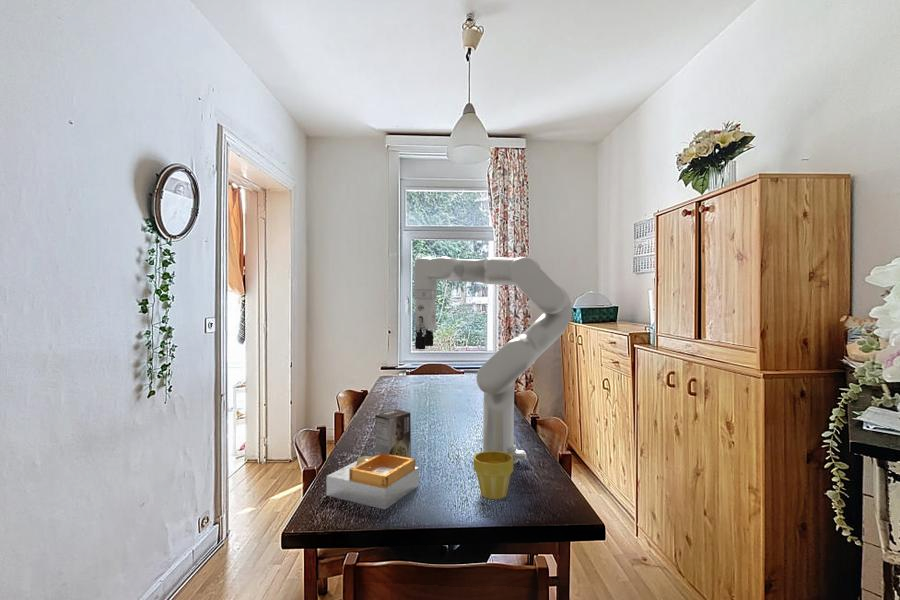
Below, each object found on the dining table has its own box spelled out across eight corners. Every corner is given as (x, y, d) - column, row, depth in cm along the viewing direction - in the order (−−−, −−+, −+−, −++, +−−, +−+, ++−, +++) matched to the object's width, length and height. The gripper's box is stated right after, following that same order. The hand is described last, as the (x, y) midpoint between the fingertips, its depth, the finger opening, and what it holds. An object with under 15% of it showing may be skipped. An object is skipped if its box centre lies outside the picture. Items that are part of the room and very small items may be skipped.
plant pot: (465, 494, 123) (465, 456, 123) (491, 483, 130) (491, 447, 130) (495, 506, 116) (496, 466, 115) (521, 494, 123) (521, 456, 123)
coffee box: (396, 460, 148) (396, 408, 148) (411, 465, 144) (411, 412, 144) (374, 468, 141) (374, 414, 141) (389, 473, 137) (389, 417, 137)
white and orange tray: (418, 485, 128) (418, 458, 128) (385, 509, 114) (385, 478, 114) (364, 474, 136) (364, 448, 136) (326, 495, 122) (326, 466, 122)
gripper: (429, 295, 147) (428, 351, 147) (442, 295, 164) (441, 345, 164) (406, 295, 149) (405, 349, 149) (421, 295, 166) (420, 344, 166)
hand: (424, 347), depth 156 cm, fingers open, 9 cm apart
